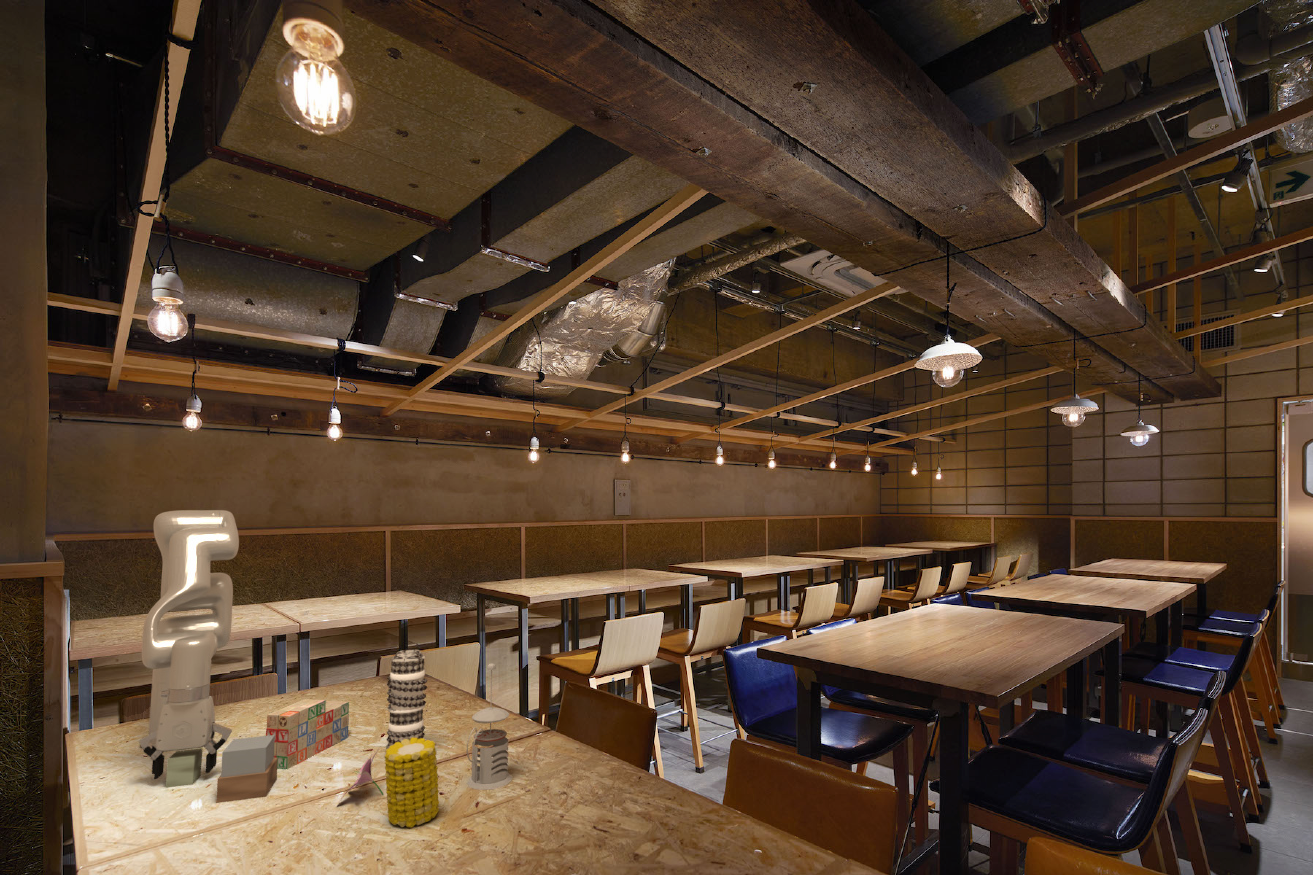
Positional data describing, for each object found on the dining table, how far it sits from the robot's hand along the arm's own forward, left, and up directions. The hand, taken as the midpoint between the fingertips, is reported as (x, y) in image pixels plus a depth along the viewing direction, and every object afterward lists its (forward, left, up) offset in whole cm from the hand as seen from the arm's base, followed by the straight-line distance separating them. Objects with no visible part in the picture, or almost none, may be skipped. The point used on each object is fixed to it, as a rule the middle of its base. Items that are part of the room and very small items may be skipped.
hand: (184, 773), depth 145 cm
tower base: (+10, +15, -2) cm, 18 cm away
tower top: (+10, +15, +3) cm, 18 cm away
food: (+35, +49, -2) cm, 60 cm away
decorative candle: (+2, +46, -2) cm, 46 cm away
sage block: (0, 0, -2) cm, 2 cm away
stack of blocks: (-11, +23, -2) cm, 25 cm away
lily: (+21, +39, -2) cm, 44 cm away
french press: (+22, +64, -2) cm, 68 cm away
